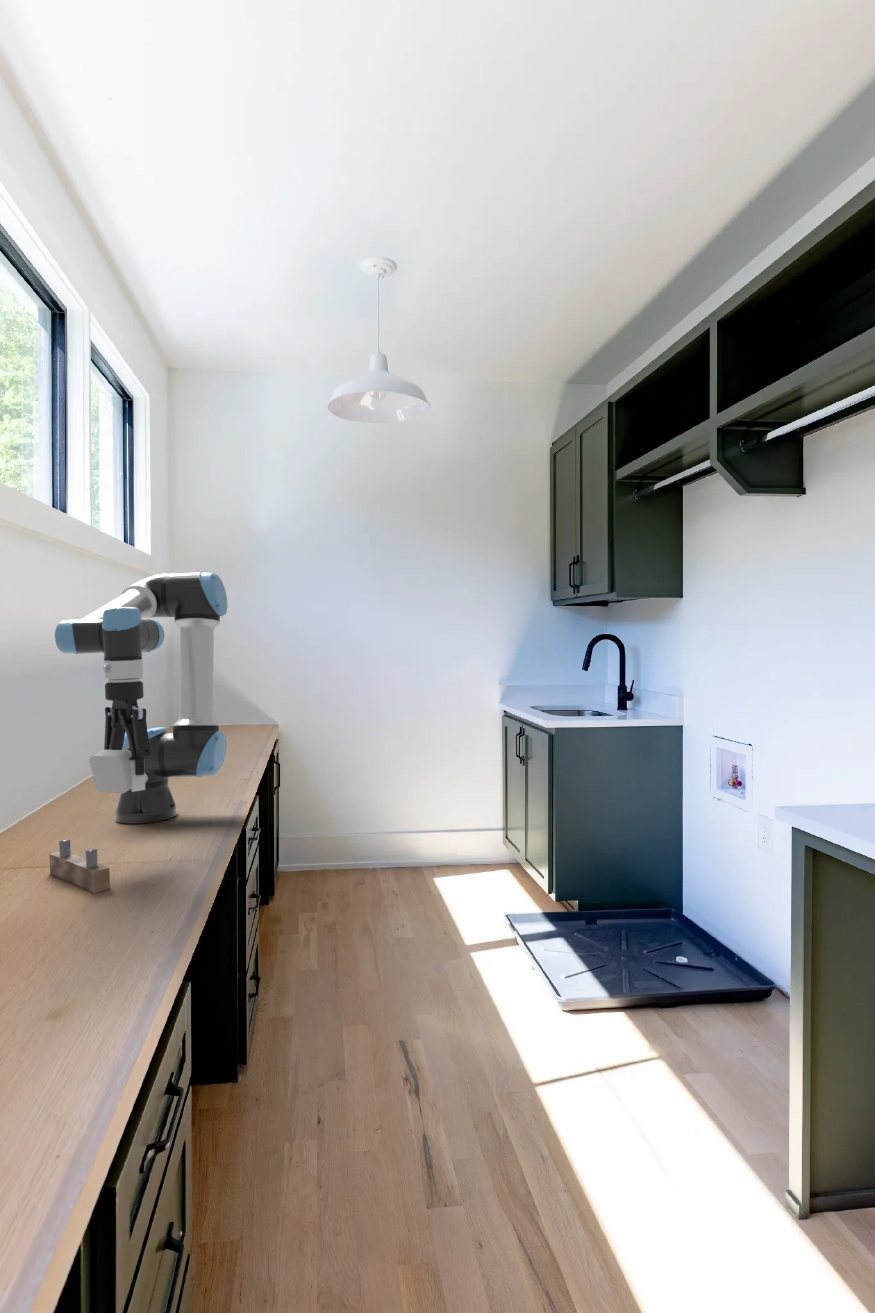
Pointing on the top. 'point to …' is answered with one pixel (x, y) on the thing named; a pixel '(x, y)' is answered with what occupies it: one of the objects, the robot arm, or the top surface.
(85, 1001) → the top surface
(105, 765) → the white knobbed block
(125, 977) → the top surface
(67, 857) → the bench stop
